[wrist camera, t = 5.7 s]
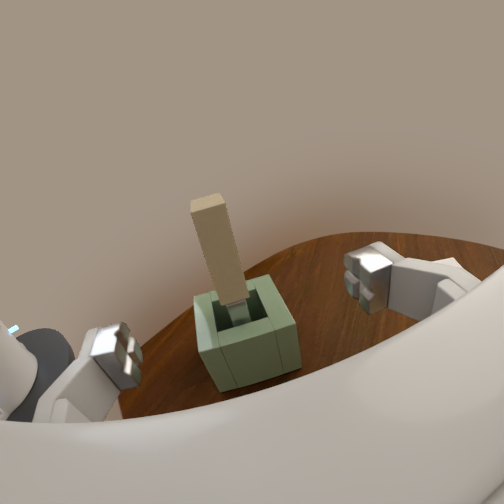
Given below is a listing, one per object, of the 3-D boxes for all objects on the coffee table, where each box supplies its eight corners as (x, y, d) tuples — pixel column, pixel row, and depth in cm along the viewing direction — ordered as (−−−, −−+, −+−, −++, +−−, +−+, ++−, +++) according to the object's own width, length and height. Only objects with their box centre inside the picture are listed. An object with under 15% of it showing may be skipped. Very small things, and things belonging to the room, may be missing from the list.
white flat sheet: (453, 257, 32) (453, 252, 31) (481, 290, 25) (482, 284, 24) (407, 266, 33) (408, 261, 32) (432, 303, 26) (433, 298, 25)
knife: (244, 368, 25) (190, 213, 18) (237, 343, 28) (189, 200, 21) (267, 361, 26) (225, 203, 18) (258, 337, 29) (219, 191, 21)
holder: (219, 393, 23) (198, 352, 20) (210, 337, 30) (192, 296, 27) (302, 367, 24) (296, 323, 21) (277, 317, 31) (268, 273, 28)
